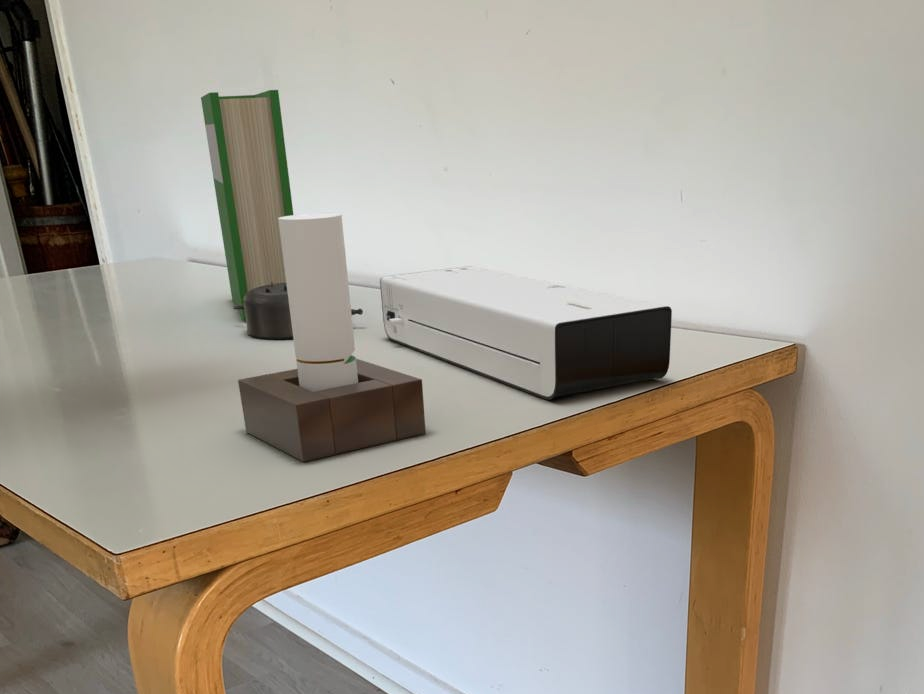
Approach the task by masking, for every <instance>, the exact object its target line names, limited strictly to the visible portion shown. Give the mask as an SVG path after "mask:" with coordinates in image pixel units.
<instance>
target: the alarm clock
mask: <svg viewBox="0 0 924 694" xmlns="http://www.w3.org/2000/svg"><path fill="white" fill-rule="evenodd" d="M243 303H244V305H241V306H235V305H234V306H232V310H237V309H244V310H245V317H246V332H247V334H248V335H250V336H251V337H254V338H259V339H268V340H289V339H290V340H291V339H293V331H292V323H291V315H290V308H289V300H288V292H287V284H286V283H277V284H273V282H271V285H265V286H261V287H257V288H254V289H252V290H250V291H249V292H247V294H246V295H245V296H244V299H243ZM363 313H364V310H363V309H362V308H358V309H354V308H351V314H352V316H355V315H363ZM293 340H294V339H293Z"/></svg>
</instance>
